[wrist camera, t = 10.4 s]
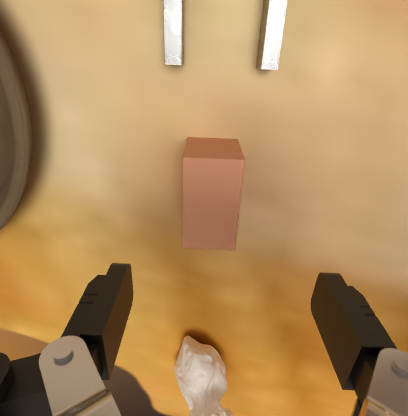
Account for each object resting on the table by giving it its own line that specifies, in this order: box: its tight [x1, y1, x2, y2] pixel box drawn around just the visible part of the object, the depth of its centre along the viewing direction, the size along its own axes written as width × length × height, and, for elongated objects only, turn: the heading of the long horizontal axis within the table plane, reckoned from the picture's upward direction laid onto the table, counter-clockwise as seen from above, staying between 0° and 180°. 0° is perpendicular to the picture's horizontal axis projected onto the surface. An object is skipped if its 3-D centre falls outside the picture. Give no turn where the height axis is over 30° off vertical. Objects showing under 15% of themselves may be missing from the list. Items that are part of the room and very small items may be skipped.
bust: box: [174, 336, 234, 416], centre depth 37 cm, size 12×8×11 cm
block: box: [182, 137, 245, 250], centre depth 26 cm, size 8×4×6 cm, turn 178°
